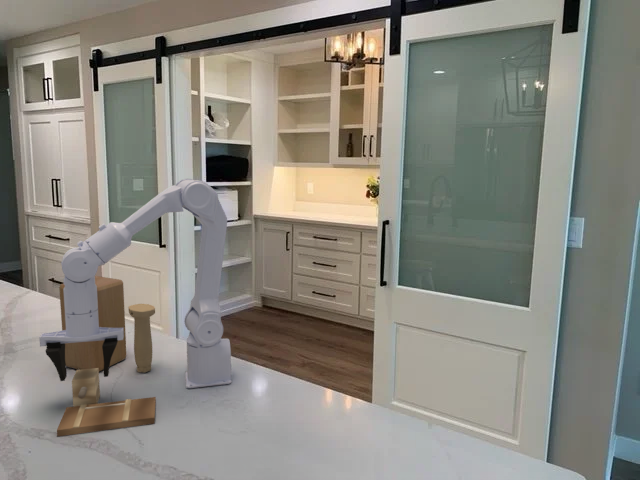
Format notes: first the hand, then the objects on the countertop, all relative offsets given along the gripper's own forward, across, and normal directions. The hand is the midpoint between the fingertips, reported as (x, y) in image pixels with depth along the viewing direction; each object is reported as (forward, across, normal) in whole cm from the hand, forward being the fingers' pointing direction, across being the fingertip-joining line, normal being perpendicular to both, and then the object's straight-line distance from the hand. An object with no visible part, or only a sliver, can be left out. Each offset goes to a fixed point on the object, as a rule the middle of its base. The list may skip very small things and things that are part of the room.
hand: (85, 376), depth 93 cm
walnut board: (+5, -5, +8) cm, 11 cm away
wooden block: (+6, +1, -20) cm, 20 cm away
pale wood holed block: (+6, 0, +1) cm, 6 cm away
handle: (+6, -10, -12) cm, 17 cm away
